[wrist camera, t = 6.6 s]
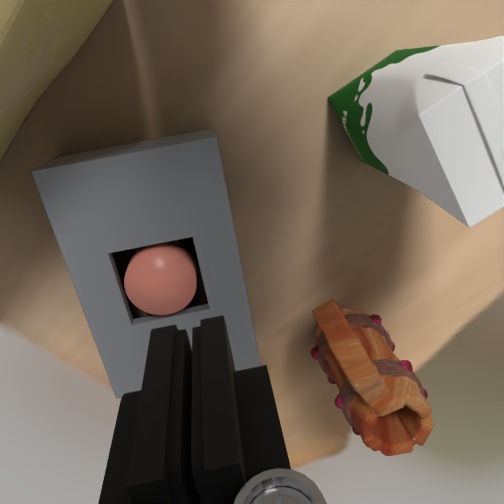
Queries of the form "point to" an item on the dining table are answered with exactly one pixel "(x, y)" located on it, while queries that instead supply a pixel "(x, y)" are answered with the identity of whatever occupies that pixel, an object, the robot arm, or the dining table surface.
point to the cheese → (38, 51)
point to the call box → (146, 240)
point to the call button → (161, 278)
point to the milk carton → (434, 123)
